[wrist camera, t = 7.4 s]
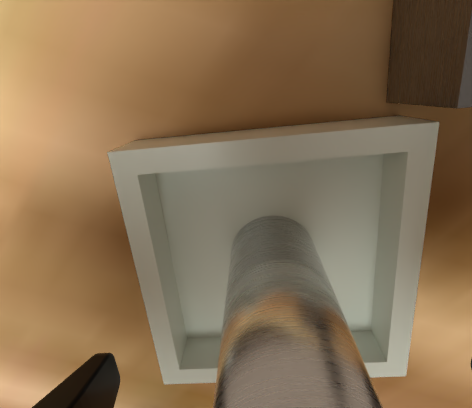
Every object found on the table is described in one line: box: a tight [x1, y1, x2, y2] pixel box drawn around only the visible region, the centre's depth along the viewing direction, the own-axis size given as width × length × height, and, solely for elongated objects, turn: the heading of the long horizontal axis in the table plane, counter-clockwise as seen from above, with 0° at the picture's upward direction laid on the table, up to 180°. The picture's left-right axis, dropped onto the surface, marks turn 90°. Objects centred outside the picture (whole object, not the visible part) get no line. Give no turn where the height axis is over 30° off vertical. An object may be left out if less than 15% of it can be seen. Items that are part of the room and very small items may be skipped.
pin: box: [213, 215, 383, 408], centre depth 8 cm, size 5×5×10 cm
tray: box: [107, 115, 439, 384], centre depth 12 cm, size 10×10×2 cm
